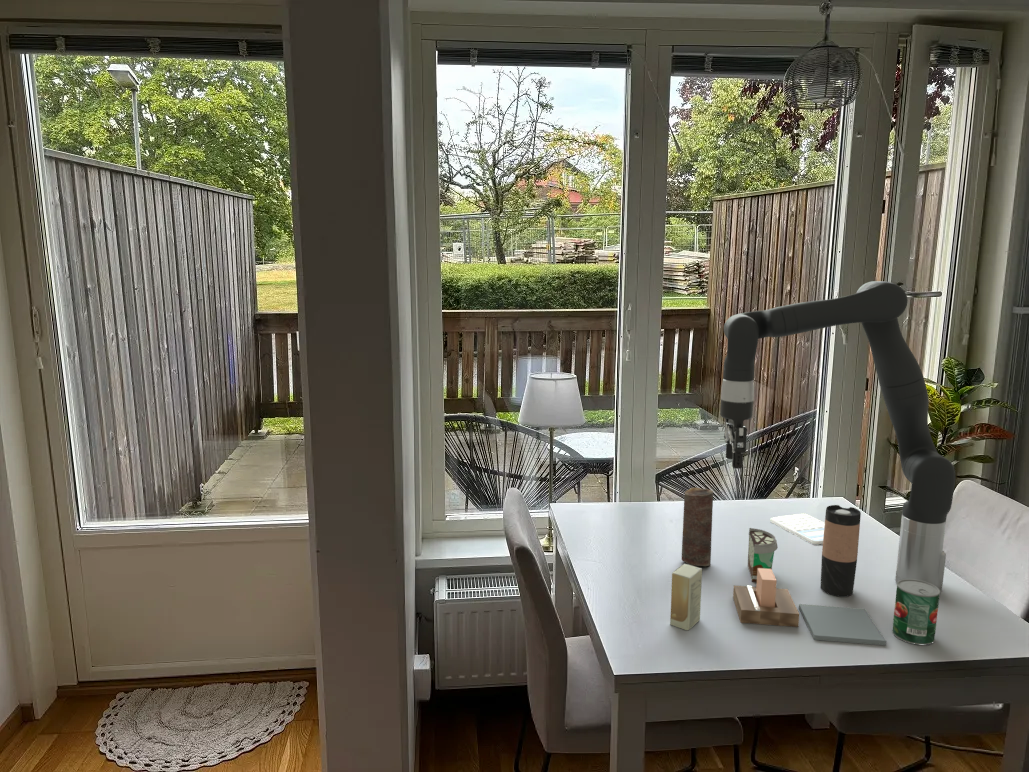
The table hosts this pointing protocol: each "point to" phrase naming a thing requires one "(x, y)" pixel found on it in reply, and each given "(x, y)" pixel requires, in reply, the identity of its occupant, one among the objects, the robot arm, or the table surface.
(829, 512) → the travel mug
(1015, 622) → the table surface
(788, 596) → the brown flat square frame
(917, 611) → the canned tomato
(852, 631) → the mat
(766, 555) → the food container
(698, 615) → the skincare box
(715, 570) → the table surface
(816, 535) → the calculator
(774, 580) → the tall peach block
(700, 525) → the candle
